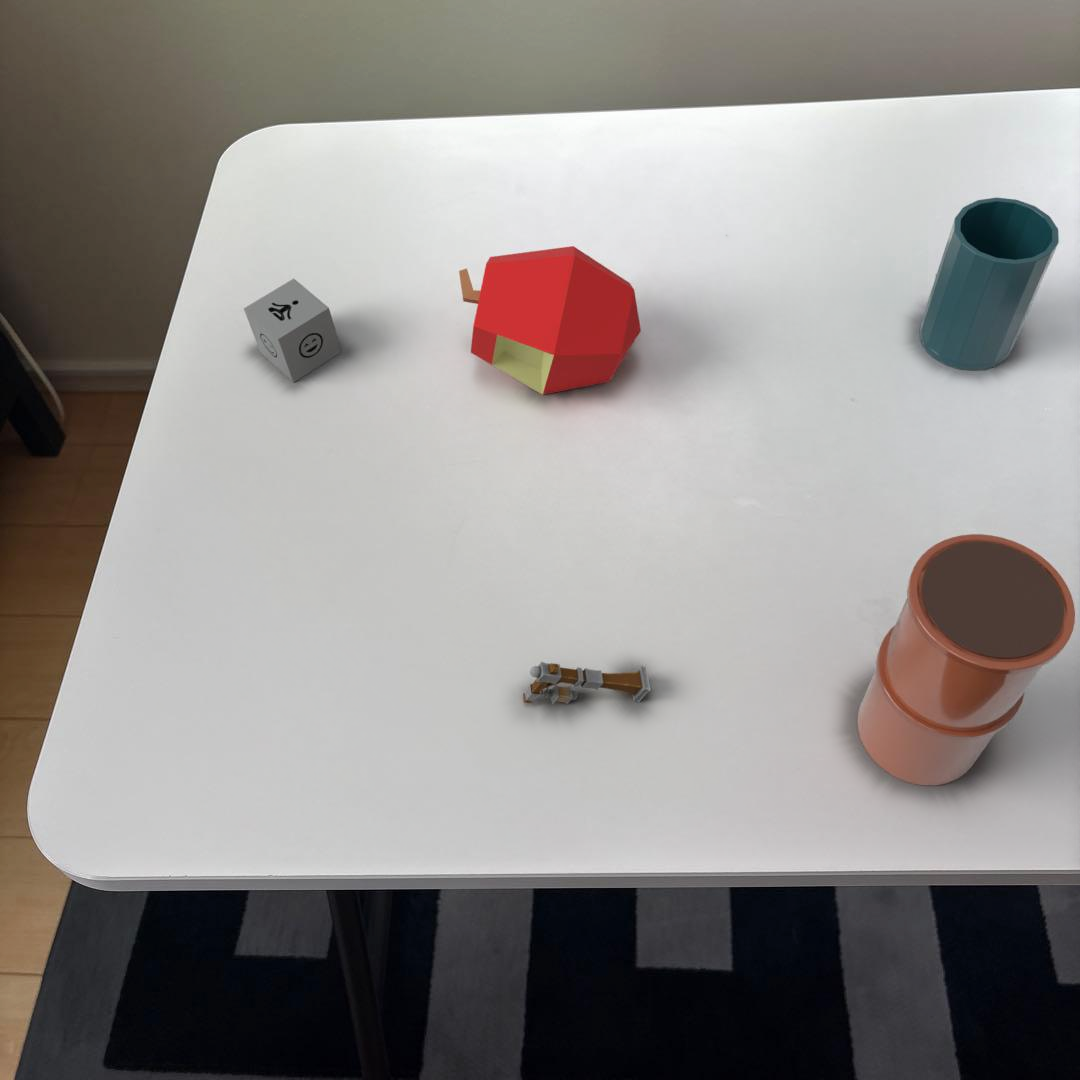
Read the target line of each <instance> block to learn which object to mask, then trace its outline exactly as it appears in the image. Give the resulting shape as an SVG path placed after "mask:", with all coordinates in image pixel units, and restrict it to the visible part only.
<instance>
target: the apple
mask: <svg viewBox="0 0 1080 1080" xmlns="http://www.w3.org/2000/svg"><path fill="white" fill-rule="evenodd" d="M486 261H487V262H486V263H485V267H484V272H483V277H482V281H481V285H480V286H481V287H480V290H477V289H474V287H473V284H472V281H471V277H470V274H469V271H468V268H467V267H466V268H463V269H460V270H458V274H459V281H460V287H461V288H460V289H461V295H462V296H461V297H462V302H465V303H470V304H474V305H475V304H476V305H477V307H476V310H475V316H474V321H473V326H472V327H473V328H472V336H471V345H470V354H472V355H473V356H476V357H477V358H479V359H481V360H483V361H484V362H486V363H487V364H489V365H491V366H493V367H494V368H496V369H498V370H499V371H501V372H503V373H505V374H506V375H508V376H510V377H512V378H513V379H515V380H517V381H518V382H520V383H522V384H523V385H525V386H526V387H529V388H530V389H532V390H533V391H535V392H538V393H539V394H541V396H544V395H548V394H553V393H558V392H559V393H560V392H564V391H568V390H573V389H578V388H579V389H580V388H583V387H588V386H594V385H598V384H604V383H608V382H610V381H611V380H612V378H613V377H614V375H615V373H616V371H617V370H618V368H619V367H620V365H621V363H622V362H623V360H624V359H625V357H626V356H627V354H628V353H629V351H630V349H631V348H632V346H633V344H634V343H635V341H636V340H637V338H638V336H639V335H640V333H641V332H642V327H641V323H640V318H639V317H640V316H639V312H638V310H639V309H638V304H637V298H636V292H635V288H634V287H633V286H632V284H631V283H630V282H629V281H627V280H626V279H625V278H623V277H622V276H621V275H618V274H617V273H615V272H614V271H612V270H611V269H609V268H608V267H606V266H604V265H603V264H602V263H600V262H599V261H597V260H596V259H594V258H592V257H591V256H589V255H588V254H586V253H585V252H583V251H582V250H580V249H578V248H577V247H575V246H574V245H572V246H563V247H557V248H549V249H540V250H533V251H532V250H531V251H525V252H516V253H510V254H502V255H493V256H490V257H489V258H488V260H486Z"/></svg>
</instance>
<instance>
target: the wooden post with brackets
mask: <svg viewBox="0 0 1080 1080" xmlns="http://www.w3.org/2000/svg"><path fill="white" fill-rule="evenodd" d="M529 675H530V676H531V677H533V678H535V680H534V681H533V682H532V683H529V685H528V686H527V687H526V690H525V691H524V692H523V694H522V697H523V698H522V699H523V703H524V704H532V703H533V701H535V700H537V699H538V698H539V697H540V696H544V698H545V699H547V698H550V701H551V705H554V704H555V703H556V702H559V703H560V702H561V703H565V704H566V705H568V704H569V703H570V702H571V701H576V699H577V698H578V695H579V694H578V692H577V691H576V690H575V689H572V686H573V688H577V689H578V688H580V689H590V690H596V691H598V690H599V689H606V690H607V689H608V690H612V691H618V692H621V693H626V694H629V695H632V700H633V702H635V701H636V702H637V703H639V702H640V701H642V699H643V698H644V697H645V696H646V695H647V694H648V693H649V692H650V691H651V686H650V681H649V675H648V669H647V665H643V666H642V665H639V667H638V669H636V670H635V671H633V672H616V673H614V672H613V673H612V672H611V673H609V672H602V669H601V670H600V669H599V670H597V669H596V670H595V669H589V668H587V667H585V668H584V669H583V667H582V666H581V667H579V666H578V667H576V669H575V668H569V667H568V668H567V667H561V664H560V663H553V662H552V663H551V662H550V663H548V662H544V661H541V662H540V663H539V664H538V665H534V666H532V667H530V669H529ZM561 683H563V684H569V685H568V686H563V685H562V686H560V685H559V684H561Z"/></svg>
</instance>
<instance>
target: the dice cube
mask: <svg viewBox="0 0 1080 1080" xmlns="http://www.w3.org/2000/svg"><path fill="white" fill-rule="evenodd" d="M243 311H244V313H245V317H246V319H247V321H248V324H249V326H250V329H251V331H252V334H253V336H254V337H253V338H254V339H255V342H256V345H257V347H258V350H259V352H260V353H261V354H262V356H264V357H265V358H266V359H267V360H268V361H269V362H270V363H271V364H272V365H274V366H275V367H276V368H277V370H279V371H280V372H281V373H282V374H284V375H285V376H286V378H288V380H290V381H291V382H292V383H295V382H297V381H299V380H300V379H302V378H303V377H305V376H306V375H308V374H310V373H311V372H313V371H314V370H316V369H317V368H320V366H322V365H324V364H325V363H327V362H328V361H331V359H333V358H334V357H336V356H337V355H339V354H341V353H343V352H342V351H343V350H342V348H341V345H340V341H339V337H338V334H337V331H336V327H335V325H334V324H335V323H334V320H333V317H332V314H331V310H330V307H328V305H326V304H325V303H324V302H323V301H322V300H320V299H319V298H318V297H317V296H316V295H314V294H313V293H312V292H311V291H310V290H309V289H307V288H306V287H305V286H304V285H302V284H301V283H300V282H299V281H298V280H297V279H296V278H292V279H290V280H288V281H287V282H285V283H284V284H281V285H280V286H279V287H277V288H275V289H274V290H272V291H270V292H268V293H267V294H265V295H264V296H262V297H260V298H259V299H257V300H255V301H253V302H252V303H250V304H249V305H247V306H245V307H244V308H243Z"/></svg>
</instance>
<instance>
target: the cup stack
mask: <svg viewBox="0 0 1080 1080" xmlns="http://www.w3.org/2000/svg"><path fill="white" fill-rule="evenodd" d="M1075 622H1076V609H1075V602H1074V599H1073V596H1072V593H1071V591H1070V588H1069V586H1068V585H1067V583H1066V581H1065V579H1064V578H1063V576H1062V575H1061V574H1060V573H1059V572H1058V570H1057V569H1056V568H1055V567H1054V566H1053V565H1052V564H1051V563H1050V562H1049V561H1048V560H1046V559H1045V557H1043V556H1042V555H1040V554H1039V553H1038V552H1036V551H1034V550H1033V549H1031V548H1029V547H1027V546H1025V545H1024V544H1021V543H1019V542H1017V541H1014V540H1011V539H1008V538H1005V537H1002V536H996V535H990V534H983V533H982V534H981V533H978V534H977V533H973V534H972V533H971V534H961V535H956V536H952V537H949V538H946V539H943V540H941V541H940V542H938V543H936V544H934V545H932V546H931V547H930V548H928V549H927V550H926V551H924V553H923V554H921V556H920V557H919V559H918V560H917V561H916V563H915V565H914V566H913V568H912V571H911V573H910V576H909V579H908V582H907V588H906V599H905V602H904V604H903V606H902V608H901V611H900V612H899V616H898V618H897V620H896V623H895V624H894V625H893V626H892V627H891V628H890V629H889V630H888V631H887V633H886V634H885V636H884V638H883V639H882V641H881V644H880V645H879V648H878V651H877V654H876V661H875V671H874V673H873V674H872V677H871V680H870V682H869V684H868V687H867V689H866V691H865V693H864V696H863V698H862V701H861V703H860V705H859V708H858V712H857V731H858V735H859V738H860V741H861V743H862V746H863V748H864V749H865V751H866V753H867V754H868V756H869V757H870V758H871V759H872V760H873V761H874V762H875V763H876V765H878V766H879V767H880V768H881V769H882V770H883V771H885V772H886V773H888V774H890V775H891V776H892V777H894V778H896V779H898V780H901V781H904V782H905V783H909V784H913V785H919V786H941V785H944V784H945V785H946V784H948V783H951V782H954V781H956V780H958V779H959V778H961V777H962V776H964V775H965V774H966V773H968V771H969V770H970V769H971V768H972V767H973V765H974V764H975V763H976V761H977V760H978V758H980V756H981V754H982V753H983V751H984V750H985V748H987V746H988V744H989V743H990V741H991V740H992V738H993V737H994V736H995V735H996V733H998V732H1001V730H1003V729H1004V728H1005V727H1007V726H1008V725H1009V724H1010V722H1011V721H1012V720H1013V719H1014V717H1015V716H1016V715H1017V714H1018V712H1019V710H1020V709H1021V706H1022V703H1023V701H1024V698H1025V692H1026V690H1027V689H1028V688H1029V686H1030V685H1031V683H1032V681H1034V679H1035V678H1036V676H1037V675H1038V673H1039V672H1040V671H1041V669H1042V668H1043V667H1044V666H1046V665H1047V664H1050V662H1052V661H1053V660H1054V659H1055V658H1057V656H1058V655H1059V654H1060V653H1061V652H1062V651H1063V650H1064V648H1065V647H1066V645H1067V644H1068V642H1069V641H1070V639H1071V637H1072V634H1073V632H1074V628H1075Z"/></svg>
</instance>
